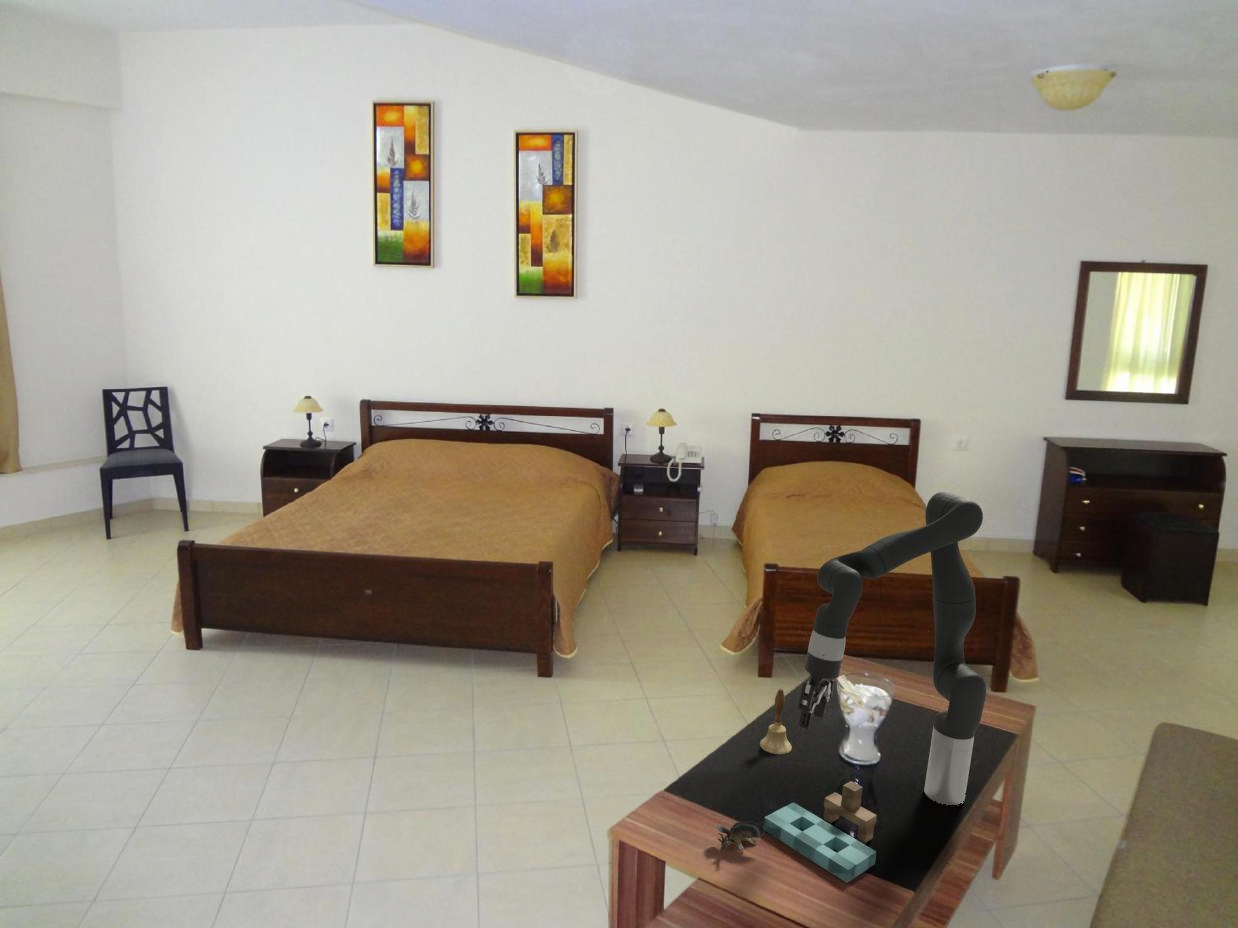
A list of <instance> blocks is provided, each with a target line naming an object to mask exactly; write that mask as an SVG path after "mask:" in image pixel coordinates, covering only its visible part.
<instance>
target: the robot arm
mask: <svg viewBox="0 0 1238 928" xmlns="http://www.w3.org/2000/svg"><path fill="white" fill-rule="evenodd" d="M983 520H984V515H983V510H982V508H981V506H980V505H979V504H978V503H977V502H975V501H973V500H971V499H969V498H966V497H964V496H960V495H957V494H954V493H951V492H946V491H945V492H944V491H939V492H937V493H935V494H934V495H933V494H932V496H931V498H930V499H929V500H928V502H927V504H926V507H925V525H923V526H921V527H920V526H919V527H918V528H914V529H911V530H909V529H908V530H905V531H901V532H897V533H894V534H890V535H887V536H884V537H881V538H880V539H878V540H877V541H874V542H873V543H870V544H869V545H867V546H866V547H864V548H862V549H861V550H857V551H853V552H849V553H846V554H842V555H839V556H836V557H833V558H831V559H829V560H828V561H825V562H824V563H823V564H822V565H821V566H820V567H819V569H818V571H817V576H816V581H817V583H818V585H819V587H820V588H821V589H822V590H824V591H825V592H827V593H829V594H830V595H832V596H831V599H830V602H829V603H823V604H821V605H820V606H818V608H817V611H816V615H815V620H814V624H813V629H812V632H811V635H810V638H809V639H810V640H809V643H808V649H807V654H806V658H805V663H804V669H805V671H806V672H807V673H808V674H809V675H810V678H809V679H808V681H807V682H803V684H802V687H801V693H800V696H799V697H800V698H799V700H798V705H797V709H798V710H801V712H800V718H799V722H798V725H799V726H800V727H801V728H804V729H806V730H808V729H809V728H810V726H811V723H812V717H813V715H814V716H815V717H818V718H821V719H823V718H824V717H825V714H826V708H827V704H828V702H829V701H830V698H832V697H833V696H834V694H833V693H834V690H835V682H836V679H838V678H839V676H840V672H841V668H842V662H843V658H844V653H845V649H846V648H845V647H846V637H847V633H848V632H847V631H848V627H849V621H850V619H851V616H852V615H853V614H854V611H855V610H856V607H857V605H858V603H859V601H860V599H861V597H862V594H863V592H864V591H863V590H864V581H863V579H867V580H876V579H878V578H880V577H882V576H885V575H886V574H888V573H889V572H891V571H894V570H895V569H897V568H899V567H900V566H903V565H904V564H906V563H907V562H910V561H912V560H914V559H916V558H918V557H922V556H924V555H926V554H928V553H929V554H930V561H931V574H932V575H931V577H932V578H931V579H932V604H933V607H932V608H933V616H934V622H933V623H934V660H933V669H932V670H933V671H932V674H933V675H932V681H933V686H934V688H935V691H937V693H938V694H939V695H940V696H942V697H943V698H944V699H946V700H947V701H948V707H947V710H944V711H939V712H938V713H935V716H934V721H933V727H932V734H931V741H930V749H929V755H928V756H929V757H928V761H927V768H926V776H925V781H924V783H925V784H924V789H923V791H924V793H925V795H926V796H927V798H929V800H932V801H933V802H935V801H936V802H935V803H937V804H940V803H941V804H940V805H943V804H946V805H945V806H948V805H957V806H959V805H958V804H960V803H962V804H963V803H964V802H965V799H966V794H967V793H966V792H967V786H968V780H969V773H970V767H971V760H972V754H973V747H974V741H975V734H976V730H977V728H978V727H979V726H980V723H981V720H982V716H983V710H984V706H985V701H986V697H987V684H986V680H985V679H984V678H983V677H982V676H981V675H980V674H979V673H978V672H976V671H975V670H973V669H972V668H970V667H969V666H967V664H966V660H965V652H964V651H965V650H964V649H965V648H964V647H965V646H964V643H965V639H966V636H967V634H968V633H969V631H970V630H971V628H972V626H973V624H974V622H975V619H976V615H977V606H976V603H977V602H976V601H977V599H976V588H975V585H974V582H973V578H972V577H971V574H970V572H969V570H968V567H967V566H966V563H965V562H964V559H963V557H962V554H961V551H960V547H959V542H962V541H963V540H966V539H968V538H971V537H973V535H975V534H976V533H977V532H978V531H979V530H980V529H981V526H982V524H983ZM965 793H966V794H965ZM963 801H964V802H963Z"/></svg>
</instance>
